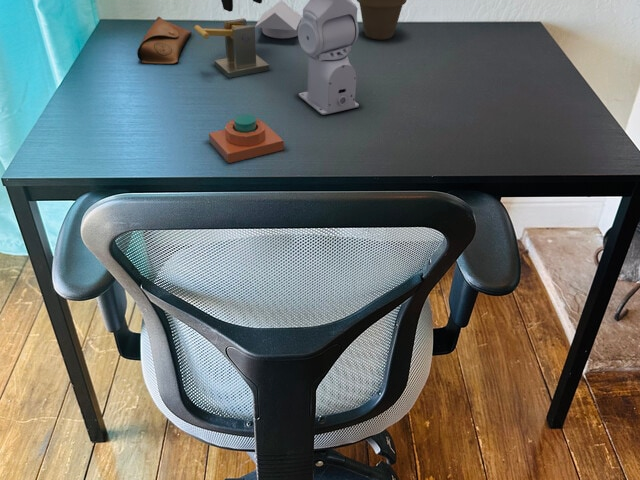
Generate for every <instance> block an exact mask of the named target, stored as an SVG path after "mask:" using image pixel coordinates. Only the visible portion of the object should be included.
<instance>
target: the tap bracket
mask: <svg viewBox="0 0 640 480" xmlns="http://www.w3.org/2000/svg"><path fill="white" fill-rule="evenodd" d="M232 25H244V26H241V27H235V28H232ZM255 26H256V25H254V24H248V25H247V19H246V18H244V17H243V18H238V19H231V20H225V21H224V20H223V27H224V28H223V29H231V28H232V33H233V39H232V38H231V36H224V41H225V44H224V45H225V55H226V56H225V57H224V58H219V59H214V60H213V61H214V67H216V69H217V70H219V71H220V73H222V74H223V75H224V77H226V78H228V79H233V78H237V77H243V76H247V75H252V74H257V73H258V74H259V73H263V72H269V71H270V64H269V63H267V62H266V61H265V60H264V59H263V58H261V57H260V56H259V55H258V54H257V49H256V48H257V47H256V44H257V43H256V27H255Z"/></svg>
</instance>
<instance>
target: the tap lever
mask: <svg viewBox="0 0 640 480" xmlns="http://www.w3.org/2000/svg"><path fill="white" fill-rule="evenodd" d="M241 26H244V25H232V28H235V27H241ZM232 28H231V29H224V28H202V27H201V26H200V25H199V24H196V25H195V26H194V31H195V32H197V33H198V34H199V35H200V36H201V37H203V39H205V40H208V39H209V38H210V37H211V36H212V37H214V36H215V37H225V36H231V38H232V39H233V33H232Z"/></svg>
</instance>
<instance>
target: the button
mask: <svg viewBox="0 0 640 480" xmlns="http://www.w3.org/2000/svg"><path fill="white" fill-rule="evenodd" d="M256 119H257V118H256V116H254V115H252V114H245V113H244V114H238V115H236V116H235V117H234V118H233V120H234V129H235V131H237V132H240V133H249V132H253V131H255V130H256Z"/></svg>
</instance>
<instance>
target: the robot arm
mask: <svg viewBox="0 0 640 480" xmlns="http://www.w3.org/2000/svg"><path fill="white" fill-rule="evenodd" d="M220 1H221V5H222V9H223V10H224V11H227V12H229V13H230V12H233V9H234V0H220ZM252 2H254V3H256V4H259V5H260V4H262V3H263V0H252ZM358 9H359V8H358V6H357V5H356V4H355V3H354V2H353V1H352V0H309V1H308V2H307V3H306V4H305V6H304V7H303V8H302V20H301V22H300V25H299V29H298V36H297V39H298V42H299V46H300V47H301V49H302V51H303V53H304V54H305V55H306V56H307V91H303V92H300V93H298V97H299V98H300V99H302V100H303V101H305V102H306V103H307V104H308V105H309V106H310V107H312V108H313V109H314V110H316V112H318V113H319V114H320V115H322V116H325V115H330V114H334V113H339V112H342V111H346V110H352V109H355V108H359V106H360V104H359V103H358V101H357V102H356V91H357V79H358V78H357V72H356V69H355V68H354V67H353V65H351V63H350V59H349V54H350V53H352V47H353V46H354V45H355V44H356V43H357V40H358V38H359V34H360V33H359V23H358Z"/></svg>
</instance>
